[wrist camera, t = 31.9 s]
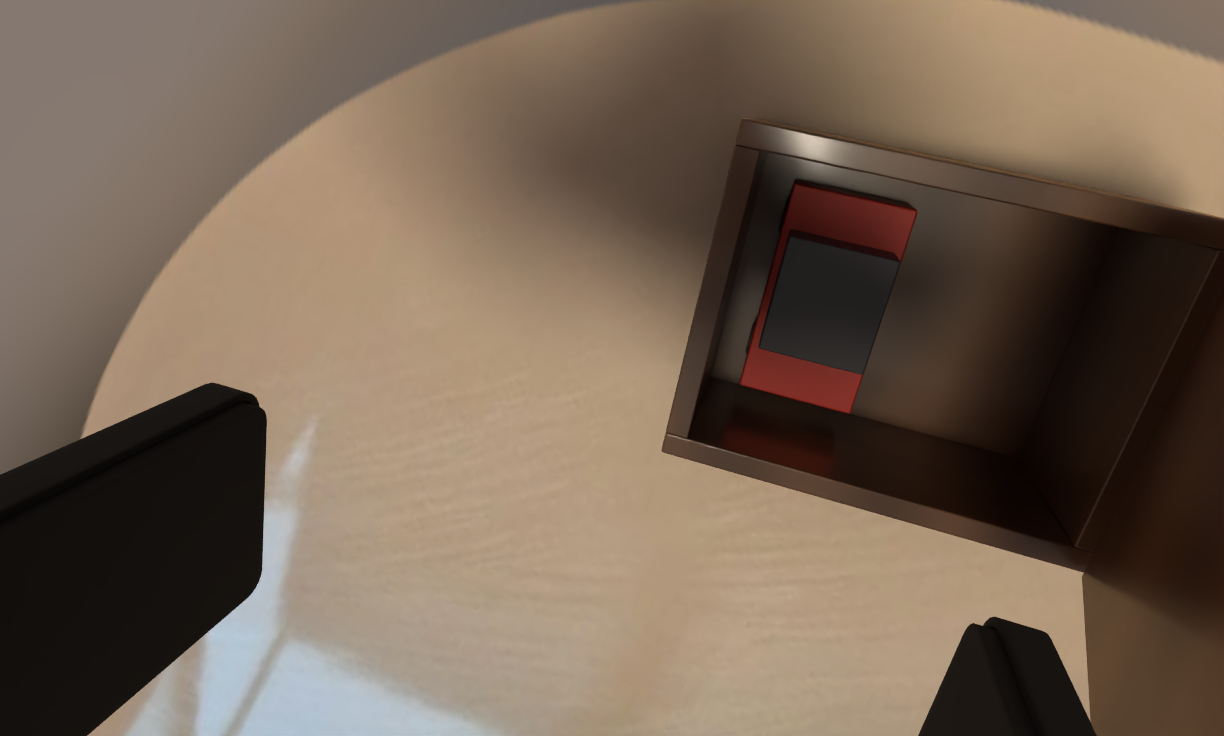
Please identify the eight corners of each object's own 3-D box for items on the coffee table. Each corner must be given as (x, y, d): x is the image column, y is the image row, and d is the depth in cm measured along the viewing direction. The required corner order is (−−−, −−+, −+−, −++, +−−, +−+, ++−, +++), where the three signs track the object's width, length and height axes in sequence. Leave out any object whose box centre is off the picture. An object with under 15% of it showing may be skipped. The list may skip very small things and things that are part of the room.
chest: (691, 382, 34) (660, 452, 27) (756, 118, 30) (741, 118, 23) (1025, 472, 32) (1089, 575, 25) (1145, 199, 28) (1264, 227, 21)
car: (792, 176, 30) (790, 186, 25) (911, 202, 29) (929, 217, 25) (742, 362, 33) (732, 400, 28) (848, 390, 32) (855, 433, 28)
